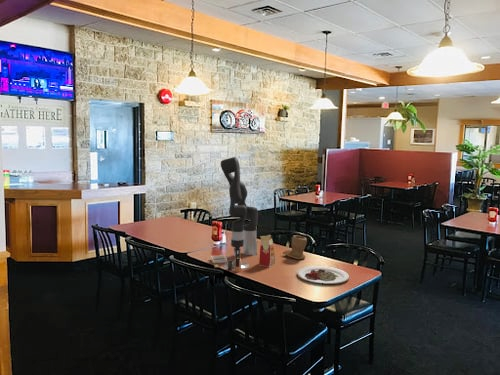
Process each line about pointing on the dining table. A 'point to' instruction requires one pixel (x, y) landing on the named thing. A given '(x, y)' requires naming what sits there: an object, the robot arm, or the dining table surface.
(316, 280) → the plated food
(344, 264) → the dining table surface
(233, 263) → the crank
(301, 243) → the tan boot
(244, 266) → the base disc
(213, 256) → the tray
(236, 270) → the stop pin
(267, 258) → the milk carton
